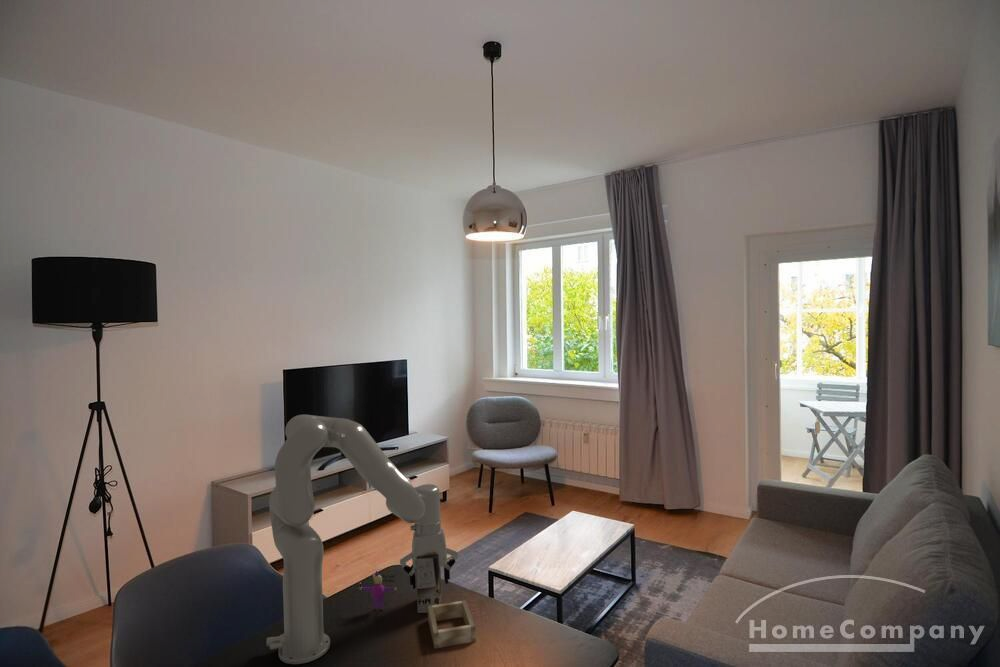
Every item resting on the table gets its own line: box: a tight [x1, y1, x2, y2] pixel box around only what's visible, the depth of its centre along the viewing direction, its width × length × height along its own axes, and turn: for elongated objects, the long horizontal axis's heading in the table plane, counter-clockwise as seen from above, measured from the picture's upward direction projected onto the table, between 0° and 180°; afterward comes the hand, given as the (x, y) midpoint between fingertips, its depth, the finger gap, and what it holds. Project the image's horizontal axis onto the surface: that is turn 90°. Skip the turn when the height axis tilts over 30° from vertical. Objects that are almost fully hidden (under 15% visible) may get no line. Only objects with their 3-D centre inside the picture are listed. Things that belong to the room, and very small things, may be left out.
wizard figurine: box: [359, 570, 398, 611], centre depth 157 cm, size 11×3×12 cm, turn 85°
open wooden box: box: [427, 600, 477, 649], centre depth 147 cm, size 11×14×4 cm
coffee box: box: [416, 554, 442, 614], centre depth 160 cm, size 9×6×16 cm
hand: (430, 584), depth 160 cm, fingers open, 9 cm apart
